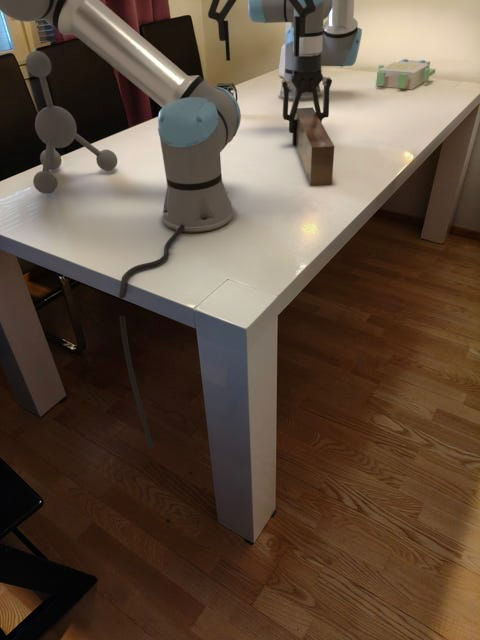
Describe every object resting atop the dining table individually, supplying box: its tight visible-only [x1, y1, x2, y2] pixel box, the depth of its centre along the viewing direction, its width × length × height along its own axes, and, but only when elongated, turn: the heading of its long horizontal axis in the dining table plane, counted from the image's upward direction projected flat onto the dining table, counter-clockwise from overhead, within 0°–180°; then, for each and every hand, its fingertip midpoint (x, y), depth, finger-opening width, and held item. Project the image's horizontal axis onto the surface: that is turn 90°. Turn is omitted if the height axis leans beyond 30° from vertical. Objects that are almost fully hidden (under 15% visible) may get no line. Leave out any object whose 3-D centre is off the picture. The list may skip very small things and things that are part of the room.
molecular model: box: [25, 50, 118, 195], centre depth 121 cm, size 24×22×30 cm
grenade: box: [215, 82, 238, 102], centre depth 166 cm, size 7×6×10 cm
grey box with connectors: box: [375, 58, 437, 90], centre depth 192 cm, size 26×6×20 cm
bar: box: [294, 107, 335, 186], centre depth 129 cm, size 34×5×9 cm, turn 2°
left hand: (262, 57), depth 97 cm, fingers open, 13 cm apart
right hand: (304, 143), depth 141 cm, fingers closed on bar, 5 cm apart
